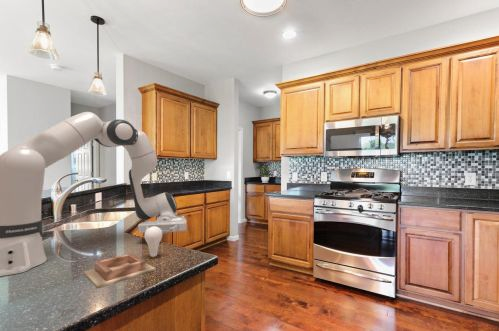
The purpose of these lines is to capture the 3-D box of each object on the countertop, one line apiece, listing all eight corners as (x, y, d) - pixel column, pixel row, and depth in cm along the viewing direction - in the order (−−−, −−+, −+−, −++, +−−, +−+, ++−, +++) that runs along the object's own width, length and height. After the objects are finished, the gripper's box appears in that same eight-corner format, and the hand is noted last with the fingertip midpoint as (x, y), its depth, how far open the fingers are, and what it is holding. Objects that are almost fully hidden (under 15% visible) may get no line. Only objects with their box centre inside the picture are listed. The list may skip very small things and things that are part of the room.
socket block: (97, 288, 66) (97, 276, 66) (83, 273, 76) (83, 263, 76) (155, 270, 78) (155, 260, 78) (137, 259, 87) (137, 250, 87)
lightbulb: (144, 261, 86) (144, 229, 86) (144, 255, 91) (144, 225, 91) (163, 258, 88) (163, 227, 88) (161, 253, 94) (161, 224, 94)
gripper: (142, 217, 114) (133, 224, 100) (187, 215, 117) (185, 221, 103) (142, 231, 114) (133, 239, 100) (188, 229, 117) (185, 237, 103)
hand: (160, 230), depth 102 cm, fingers open, 8 cm apart
